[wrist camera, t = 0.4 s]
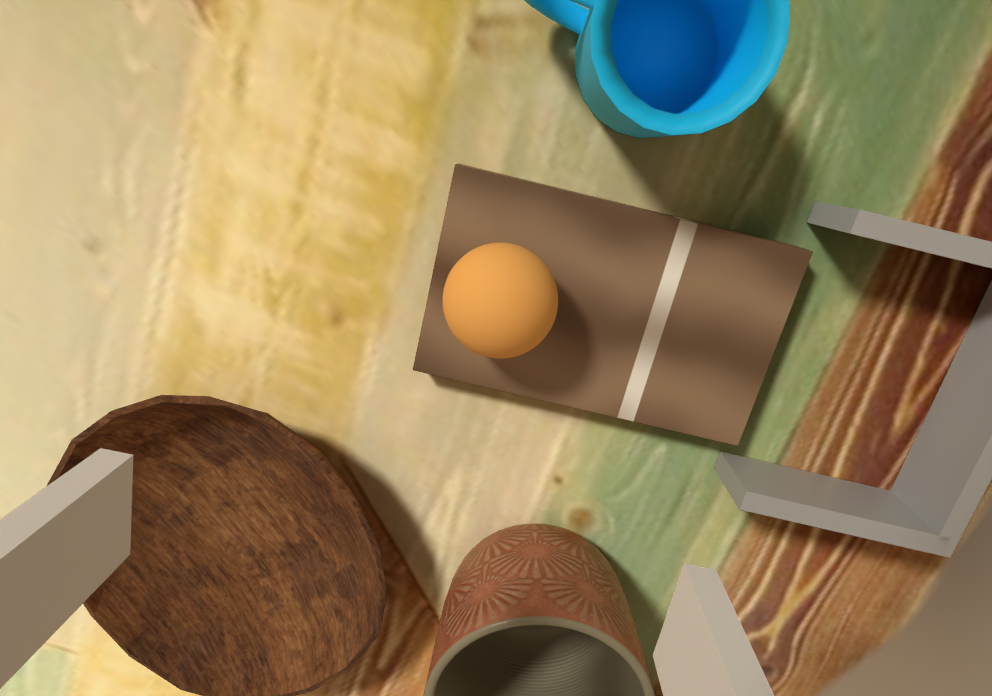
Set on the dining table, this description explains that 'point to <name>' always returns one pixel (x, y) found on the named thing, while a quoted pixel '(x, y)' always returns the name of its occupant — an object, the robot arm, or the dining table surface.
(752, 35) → the mug
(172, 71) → the dining table surface
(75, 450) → the bowl
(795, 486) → the grey frame
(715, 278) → the board
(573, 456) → the dining table surface
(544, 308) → the ball
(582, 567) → the planter
